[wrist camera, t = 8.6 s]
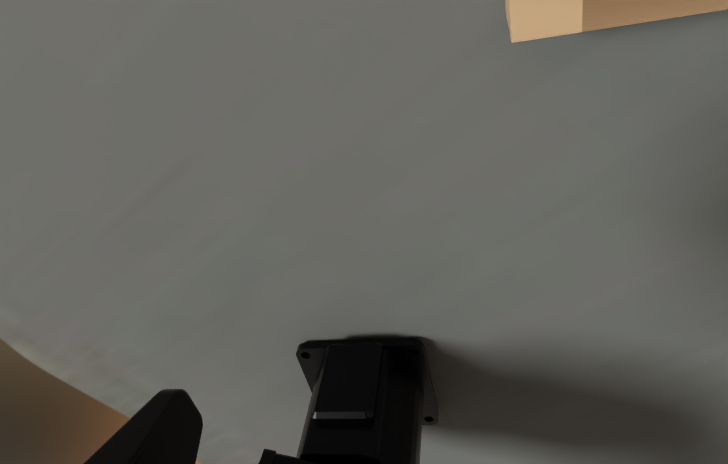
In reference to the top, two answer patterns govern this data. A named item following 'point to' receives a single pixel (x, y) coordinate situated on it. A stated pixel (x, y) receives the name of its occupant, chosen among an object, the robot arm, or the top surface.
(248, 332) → the top surface
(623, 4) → the holder
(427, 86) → the top surface
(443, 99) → the top surface
